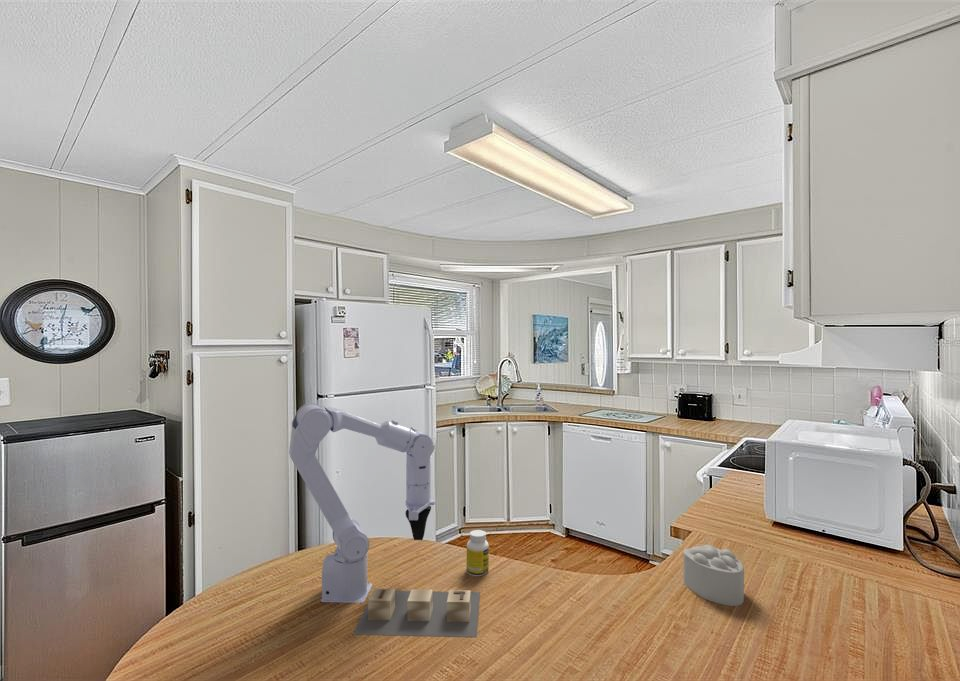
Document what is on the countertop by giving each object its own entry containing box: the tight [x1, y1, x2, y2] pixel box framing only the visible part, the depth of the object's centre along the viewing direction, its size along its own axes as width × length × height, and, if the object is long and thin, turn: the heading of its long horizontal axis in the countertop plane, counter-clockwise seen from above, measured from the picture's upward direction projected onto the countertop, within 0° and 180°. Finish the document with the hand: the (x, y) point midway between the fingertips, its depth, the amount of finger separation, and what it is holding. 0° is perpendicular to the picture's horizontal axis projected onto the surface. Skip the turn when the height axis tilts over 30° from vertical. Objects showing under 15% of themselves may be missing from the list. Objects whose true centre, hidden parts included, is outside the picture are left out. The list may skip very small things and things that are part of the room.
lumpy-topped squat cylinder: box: [682, 544, 745, 607], centre depth 110 cm, size 10×13×9 cm
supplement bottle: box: [466, 529, 490, 577], centre depth 118 cm, size 5×5×10 cm
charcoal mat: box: [352, 590, 481, 638], centre depth 100 cm, size 24×16×1 cm, turn 88°
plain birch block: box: [407, 588, 434, 621], centre depth 99 cm, size 4×4×4 cm
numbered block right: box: [447, 589, 472, 622], centre depth 99 cm, size 4×4×4 cm
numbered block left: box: [367, 588, 396, 620], centre depth 100 cm, size 4×4×4 cm
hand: (418, 538), depth 115 cm, fingers closed
